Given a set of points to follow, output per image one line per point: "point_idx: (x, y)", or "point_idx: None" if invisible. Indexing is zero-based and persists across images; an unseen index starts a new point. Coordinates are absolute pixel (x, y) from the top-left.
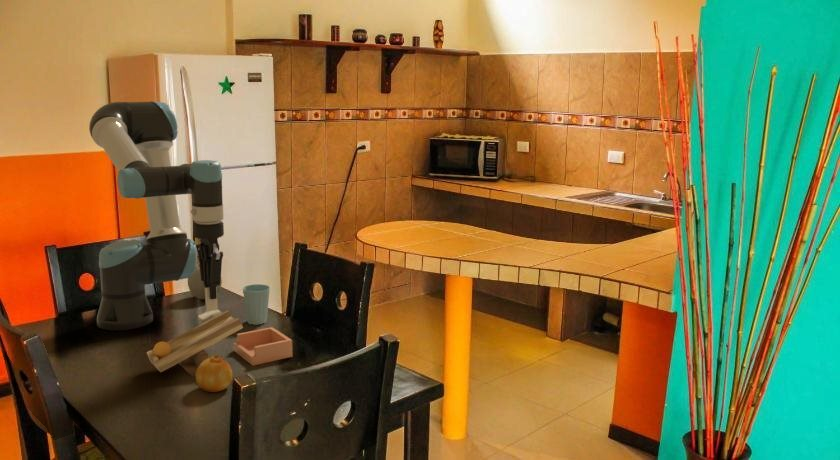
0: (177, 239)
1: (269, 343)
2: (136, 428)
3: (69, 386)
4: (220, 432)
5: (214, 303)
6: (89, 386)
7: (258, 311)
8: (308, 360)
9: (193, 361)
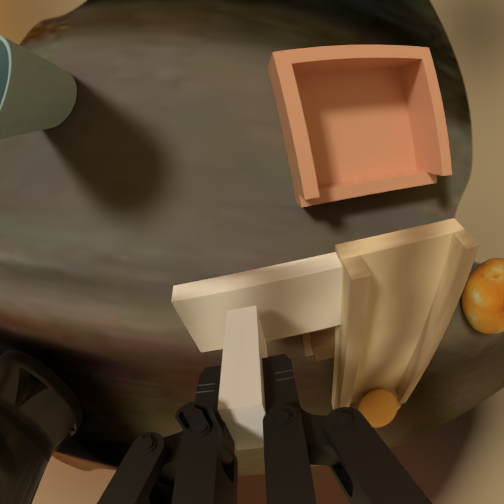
0: None
1: (436, 121)
2: (497, 375)
3: None
4: None
5: (261, 340)
6: None
7: (55, 87)
8: (433, 40)
9: None
